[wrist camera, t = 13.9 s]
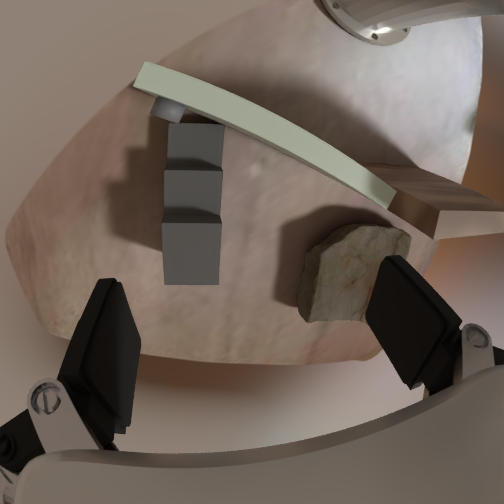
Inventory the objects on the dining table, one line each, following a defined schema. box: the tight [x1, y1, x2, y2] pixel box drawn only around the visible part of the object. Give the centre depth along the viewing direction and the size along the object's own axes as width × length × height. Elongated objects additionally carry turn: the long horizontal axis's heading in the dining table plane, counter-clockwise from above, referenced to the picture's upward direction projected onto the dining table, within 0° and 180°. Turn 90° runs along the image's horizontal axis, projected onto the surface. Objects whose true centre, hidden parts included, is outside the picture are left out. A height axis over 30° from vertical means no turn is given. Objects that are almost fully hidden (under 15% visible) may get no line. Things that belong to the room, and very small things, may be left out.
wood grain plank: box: [357, 162, 504, 240], centre depth 23 cm, size 2×14×16 cm, turn 90°
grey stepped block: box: [161, 123, 225, 285], centre depth 24 cm, size 14×5×6 cm, turn 174°
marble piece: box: [297, 223, 412, 324], centre depth 34 cm, size 17×15×4 cm
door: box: [133, 62, 397, 209], centre depth 19 cm, size 3×18×12 cm, turn 64°
